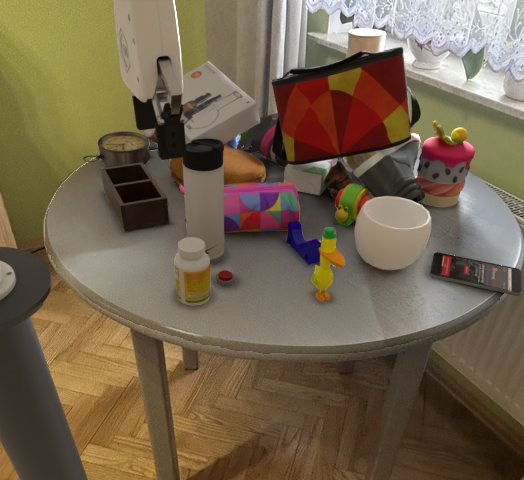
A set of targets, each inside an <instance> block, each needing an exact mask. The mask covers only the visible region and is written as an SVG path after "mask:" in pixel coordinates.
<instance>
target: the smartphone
mask: <svg viewBox="0 0 524 480" xmlns="http://www.w3.org/2000/svg"><path fill="white" fill-rule="evenodd" d="M454 255H455V254H450V253H445V252H440V251H435V252H434V253H433V255H432V258H431V266H430V269H429V276H430V277H431V278H434V279H437V280H442V281H447V282H452V283H456V284H460V285H464V286H469V287H474V288H478V289H484V290H488V291H493V292H497V293H501V294H507V295H511V296H516V297H518V296H521V294H523V287H522V286H523V284H522V283H523V281H522V280H523V279H522V269H520V268H517V267H513V266H507V265H503V264H498V263H494V262H488V261H483V260H480V259H474V258H469V257H464V256H460V255H455V256H454ZM501 265H502V266H501Z"/></svg>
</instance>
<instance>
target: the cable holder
mask: <svg viewBox="0 0 524 480" xmlns="http://www.w3.org/2000/svg"><path fill="white" fill-rule="evenodd" d="M321 242H322V241H320V240H319V239H318V238H313V239H308V240H306V238H305V237H304V234H303V224H302V223H301V222H300V220H299V221H295V222H291V223H288V230H287V233H286V244H287V245H288V246H289V247H290V248H291V249H292V250H293V251H294V252H295V253H296V254H297V255H298V256H299V257H300V258H301V259H302V260H303V261H304V262H305V264H307V265H308V266H311V265H315V264H320V252H319V248H320V247H321Z"/></svg>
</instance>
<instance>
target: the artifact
mask: <svg viewBox="0 0 524 480" xmlns="http://www.w3.org/2000/svg"><path fill="white" fill-rule="evenodd" d="M324 183H325V185H326V186H327V187H326V188H327V189H328V190H330V196H331V197H332V198H333V199H335V200H336V196H337V194H338V192H339V191H340V190H341V189H343V188H345V187H346V186H347V185H349V184H352V183H354V180H353V179H352V177H351V175H350V174H349V172H348V170H347V168H346V166H344V164H343V163H342V161H340V160H339V161H338V160H337V164H336V165H335V166H333V167H331V168H330V170H329V172H328V174H327V176H326V178H325V180H324Z"/></svg>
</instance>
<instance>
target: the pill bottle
mask: <svg viewBox="0 0 524 480" xmlns="http://www.w3.org/2000/svg"><path fill="white" fill-rule="evenodd" d="M143 135H144V136H146V137H147V138H148V140H149V141H151V142H153V143H155V144H157V139H156V130H155V129H148V130H143Z"/></svg>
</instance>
